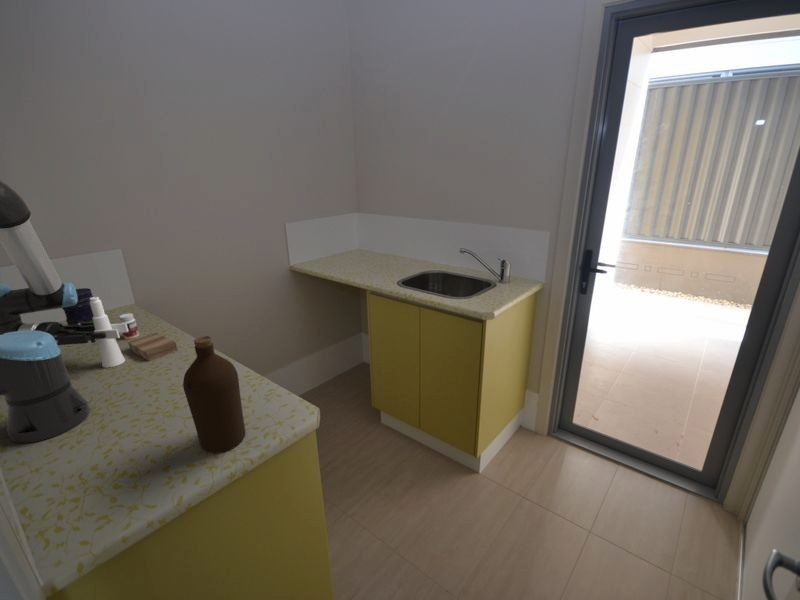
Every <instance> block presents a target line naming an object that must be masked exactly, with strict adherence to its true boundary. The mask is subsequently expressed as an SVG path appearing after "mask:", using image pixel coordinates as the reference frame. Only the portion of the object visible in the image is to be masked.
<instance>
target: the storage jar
mask: <svg viewBox="0 0 800 600" xmlns="http://www.w3.org/2000/svg"><path fill="white" fill-rule="evenodd" d="M75 289H76V292H77V298H78V301H77V304H75V305H73V306H69V307H64V308H61V309H62V310H63V311H64V315H65V317H66V318H65V321H66V325H78V324H77V322H80V321H82V322H93V317H94V315H93V312H92V309H91V306H90V301H91V300H90V298H92V297H94V295H93V293H92V289H90V288H87V287H84V288H83V287H82V288H75Z"/></svg>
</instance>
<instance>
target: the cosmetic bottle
mask: <svg viewBox="0 0 800 600" xmlns="http://www.w3.org/2000/svg"><path fill="white" fill-rule="evenodd" d="M90 300H91V301H90V306H91V309H92V312H93V315H94V317H93V323H94V327H95V330H111V329H112V327H111V324H112V323H111V322H110V319H109V316H108V314H105V313H106V312H105V310H104V306H103V302H102V300H101V299H100V297H99V296H93V297H92V298H90ZM97 342H98V346H99V351H100V358H101V367H102V368H108V369H109V367H110V368H115V367H117V366H120V365H122V364H124V363H125V361H126V358H125V357H124V355H123V353H122V352H121V351H122V350H121V348H120V346H119V344H118V342H117V338H115V339H97Z"/></svg>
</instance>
